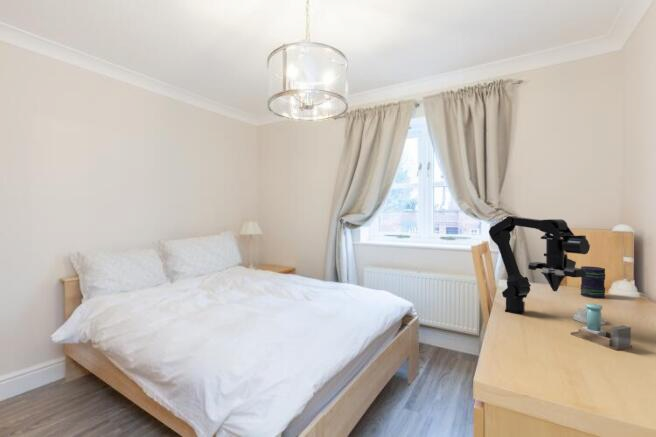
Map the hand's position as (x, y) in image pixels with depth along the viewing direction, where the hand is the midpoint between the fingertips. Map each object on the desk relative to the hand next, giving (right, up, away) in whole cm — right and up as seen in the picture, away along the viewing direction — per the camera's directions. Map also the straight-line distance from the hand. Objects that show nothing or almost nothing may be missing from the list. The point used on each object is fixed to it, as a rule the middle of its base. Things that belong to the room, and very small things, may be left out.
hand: (554, 291), depth 120 cm
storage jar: (+50, -13, +41) cm, 66 cm away
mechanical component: (+17, -13, +4) cm, 22 cm away
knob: (+3, -13, -14) cm, 19 cm away
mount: (+4, -13, -15) cm, 21 cm away
